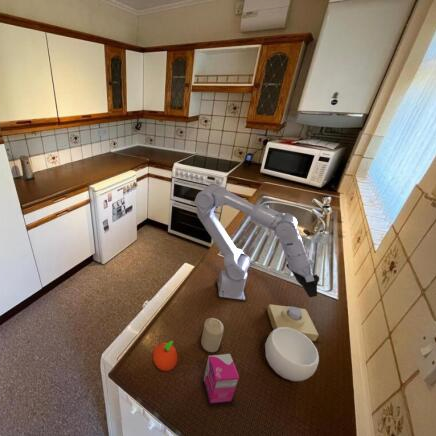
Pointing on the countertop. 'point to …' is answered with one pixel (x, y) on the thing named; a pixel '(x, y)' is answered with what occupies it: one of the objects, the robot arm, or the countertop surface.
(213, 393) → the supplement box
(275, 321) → the square plate with button
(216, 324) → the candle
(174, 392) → the countertop surface
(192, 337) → the countertop surface
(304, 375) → the white bowl
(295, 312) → the grey pebble
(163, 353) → the clementine
